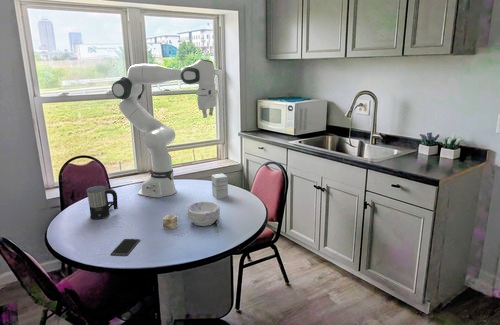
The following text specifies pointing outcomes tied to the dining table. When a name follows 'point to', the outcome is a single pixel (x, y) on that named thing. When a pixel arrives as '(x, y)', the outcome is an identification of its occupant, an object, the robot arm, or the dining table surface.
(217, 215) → the paper bowls
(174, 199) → the dining table surface
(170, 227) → the maple block
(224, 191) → the supplement box
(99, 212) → the milk frother
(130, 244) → the cell phone
